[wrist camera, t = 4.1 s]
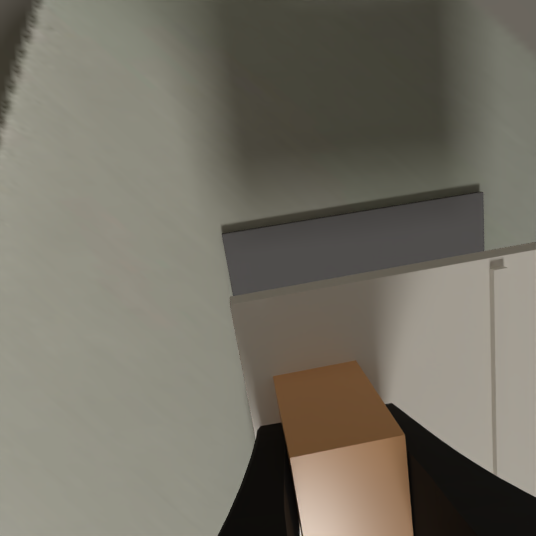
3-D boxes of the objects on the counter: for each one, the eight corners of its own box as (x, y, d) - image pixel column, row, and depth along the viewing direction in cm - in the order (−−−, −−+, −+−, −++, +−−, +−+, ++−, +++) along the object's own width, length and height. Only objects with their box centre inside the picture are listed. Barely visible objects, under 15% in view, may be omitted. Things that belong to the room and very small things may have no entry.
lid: (586, 223, 13) (801, 255, 8) (577, 448, 15) (741, 581, 10) (229, 286, 12) (230, 363, 7) (272, 512, 14) (294, 684, 10)
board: (479, 191, 20) (483, 192, 20) (482, 354, 22) (486, 356, 22) (222, 233, 20) (221, 234, 20) (251, 393, 22) (252, 396, 22)
